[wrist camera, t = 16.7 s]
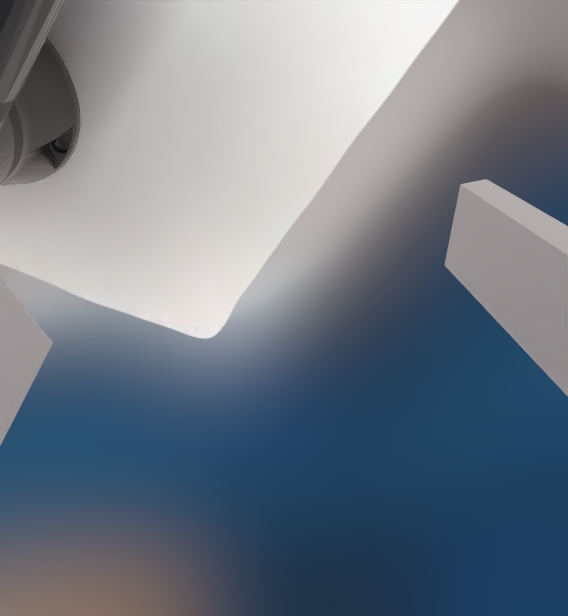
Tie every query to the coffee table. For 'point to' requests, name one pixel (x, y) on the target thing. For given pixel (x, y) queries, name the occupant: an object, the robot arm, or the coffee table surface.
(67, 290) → the coffee table surface
